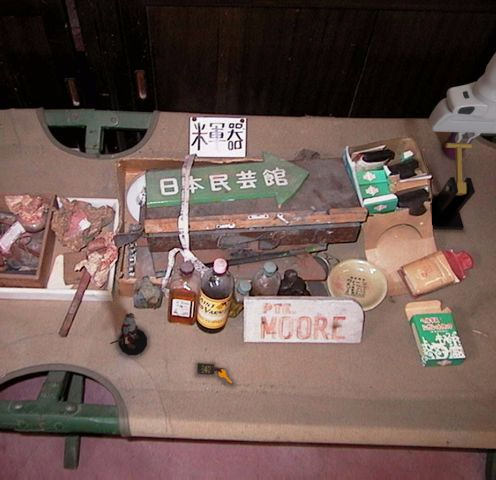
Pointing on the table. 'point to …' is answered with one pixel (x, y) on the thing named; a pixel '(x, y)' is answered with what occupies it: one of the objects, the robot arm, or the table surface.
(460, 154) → the lever
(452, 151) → the cup
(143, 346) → the figurine
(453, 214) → the black slotted stand
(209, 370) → the key tag
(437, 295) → the table surface
